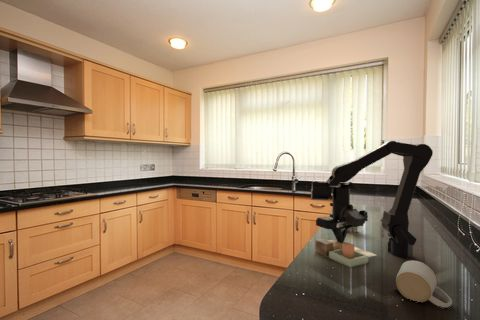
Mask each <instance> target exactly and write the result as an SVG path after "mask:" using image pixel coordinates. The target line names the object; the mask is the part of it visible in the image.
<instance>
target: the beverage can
mask: <svg viewBox="0 0 480 320" xmlns="http://www.w3.org/2000/svg"><path fill="white" fill-rule="evenodd" d="M353 210H355V211H358V210H357V207H355V206H353ZM347 233H352V234H354V233H358V227H353V228H351V229H349V230H348V232H347Z"/></svg>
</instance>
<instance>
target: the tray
mask: <svg viewBox="0 0 480 320" xmlns="http://www.w3.org/2000/svg"><path fill="white" fill-rule="evenodd" d="M328 259H331V260H332V259H333V260H332V261H335V262H336V263H339V264H341V265H344V266H346V267H348V268H355V267H358V266H362V265H365V264H368V263H369V258H368V256H367V255H364V254H362V253H359V252H357V251H354V258H353V259H348V258H346V257H344V256H342V249H338V250H333V251H329V258H328Z"/></svg>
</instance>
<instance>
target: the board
mask: <svg viewBox="0 0 480 320" xmlns="http://www.w3.org/2000/svg"><path fill="white" fill-rule="evenodd" d="M354 251H357V252H359V253H362V254H364V255H367V256H368V259H369V258H372V257H376V256H377V254H375V253H373V252H371V251H368V250H365V249H362V248H360V247H356V246H354ZM314 252H315V253H317V252H316V251H315V250H314ZM326 258H328V259H330V258H329V256H327V257H326ZM331 260H332V261H334V260H333V259H331Z"/></svg>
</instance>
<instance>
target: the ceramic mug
mask: <svg viewBox="0 0 480 320" xmlns="http://www.w3.org/2000/svg"><path fill="white" fill-rule="evenodd" d="M437 282H438V281H437V277H436V274H435V272H434V271H433V270H432V268H430V267H429V266H428V265H427V264H425V263H424V262H422V261H419V260H413V259H411V260H406V261H404V262H403V263H402V264H401V266H400V269H399V271H398V273H397V275H396V278H395V284H396V287H397V291H398V292H399V293H400V294H401V296H403V297H404V298H405V299H406V300H408V299H410V300H409V301H411V300H413V301H417V302H416V303H418V302H421V303H426V302H428V301H429V302H431V304H433V305H434V306H437V307H439V306H441V307H449V306H450V307H451V306H452V304H453V300H452V299H451V297H450V296H449V294H447V293H446V292H445V291H444V290H443V289H441V287H439V286H438V285H437ZM433 293H436V294H437V295H438V296H440V298H442V300H443V301H442V300H440V299H438V298H437V297H435V296H433ZM413 301H412V302H413ZM446 302H447V303H446ZM441 307H440V308H441ZM450 307H449V308H450Z"/></svg>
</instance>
